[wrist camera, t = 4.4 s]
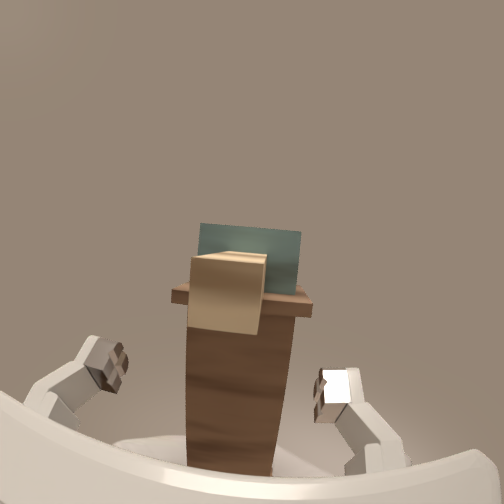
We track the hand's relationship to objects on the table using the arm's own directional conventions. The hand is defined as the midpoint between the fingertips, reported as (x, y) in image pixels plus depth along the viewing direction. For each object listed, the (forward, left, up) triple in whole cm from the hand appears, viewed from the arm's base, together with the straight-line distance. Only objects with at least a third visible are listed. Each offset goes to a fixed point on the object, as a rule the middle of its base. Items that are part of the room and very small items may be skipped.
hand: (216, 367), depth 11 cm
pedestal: (+13, -5, -25) cm, 28 cm away
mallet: (+9, -3, +1) cm, 10 cm away
